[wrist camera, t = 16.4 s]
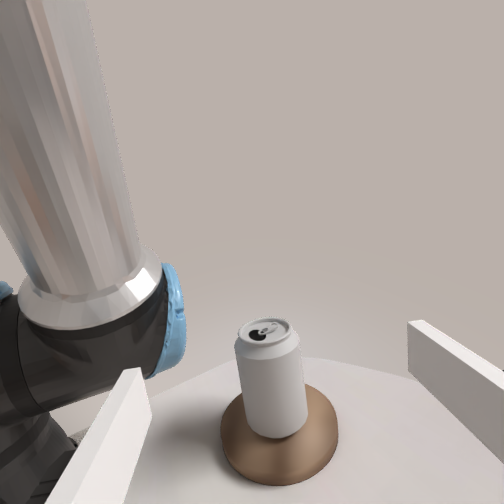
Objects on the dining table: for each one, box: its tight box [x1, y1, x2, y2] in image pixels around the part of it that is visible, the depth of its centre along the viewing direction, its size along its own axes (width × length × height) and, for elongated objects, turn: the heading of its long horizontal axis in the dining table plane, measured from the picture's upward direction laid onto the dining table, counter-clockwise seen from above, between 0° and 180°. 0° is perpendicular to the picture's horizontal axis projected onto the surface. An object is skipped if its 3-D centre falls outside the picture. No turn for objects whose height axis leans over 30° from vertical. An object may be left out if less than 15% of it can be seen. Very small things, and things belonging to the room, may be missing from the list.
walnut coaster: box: [221, 384, 338, 486], centre depth 34 cm, size 14×14×2 cm
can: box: [234, 317, 308, 438], centre depth 33 cm, size 8×8×12 cm
